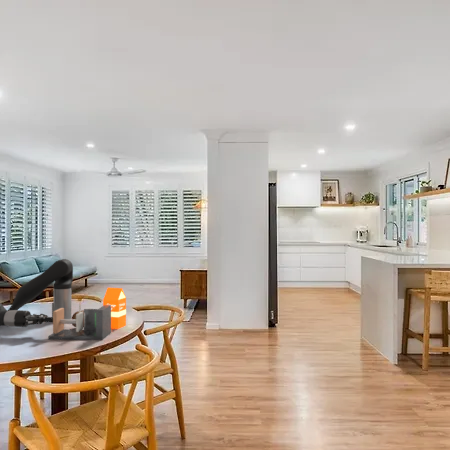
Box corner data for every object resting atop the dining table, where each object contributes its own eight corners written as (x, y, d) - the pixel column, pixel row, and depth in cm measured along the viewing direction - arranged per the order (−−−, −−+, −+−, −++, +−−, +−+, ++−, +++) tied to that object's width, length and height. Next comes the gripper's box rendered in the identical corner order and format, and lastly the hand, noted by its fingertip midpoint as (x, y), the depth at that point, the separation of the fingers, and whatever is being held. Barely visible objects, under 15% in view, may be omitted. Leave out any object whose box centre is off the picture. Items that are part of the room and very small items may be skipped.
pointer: (76, 331, 180) (76, 303, 180) (81, 328, 186) (81, 301, 186) (78, 331, 180) (78, 303, 180) (83, 328, 186) (83, 301, 186)
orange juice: (117, 329, 197) (118, 289, 197) (102, 327, 199) (102, 288, 199) (126, 325, 204) (126, 287, 204) (111, 324, 207) (111, 286, 207)
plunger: (53, 333, 179) (53, 311, 180) (60, 328, 187) (60, 308, 188) (74, 333, 179) (74, 311, 179) (81, 329, 187) (81, 308, 187)
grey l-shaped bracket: (48, 339, 178) (48, 309, 179) (60, 332, 190) (60, 304, 191) (102, 340, 178) (102, 310, 178) (111, 332, 190) (111, 305, 190)
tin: (74, 329, 196) (74, 312, 196) (70, 328, 198) (70, 312, 198) (98, 323, 209) (98, 307, 209) (94, 322, 210) (94, 307, 211)
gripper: (24, 323, 190) (60, 324, 190) (9, 330, 177) (47, 331, 177) (25, 307, 190) (60, 309, 190) (9, 313, 177) (47, 315, 177)
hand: (54, 319), depth 184 cm, fingers closed
